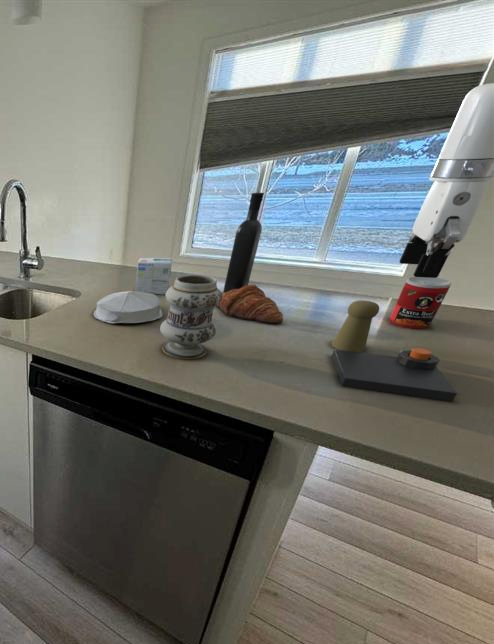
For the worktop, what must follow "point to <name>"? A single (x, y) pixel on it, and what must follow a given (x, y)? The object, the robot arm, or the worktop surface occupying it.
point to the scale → (393, 374)
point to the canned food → (419, 302)
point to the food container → (128, 307)
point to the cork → (356, 326)
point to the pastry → (250, 305)
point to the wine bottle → (245, 247)
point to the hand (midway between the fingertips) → (416, 270)
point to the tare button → (420, 354)
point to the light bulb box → (153, 275)
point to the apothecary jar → (190, 315)
